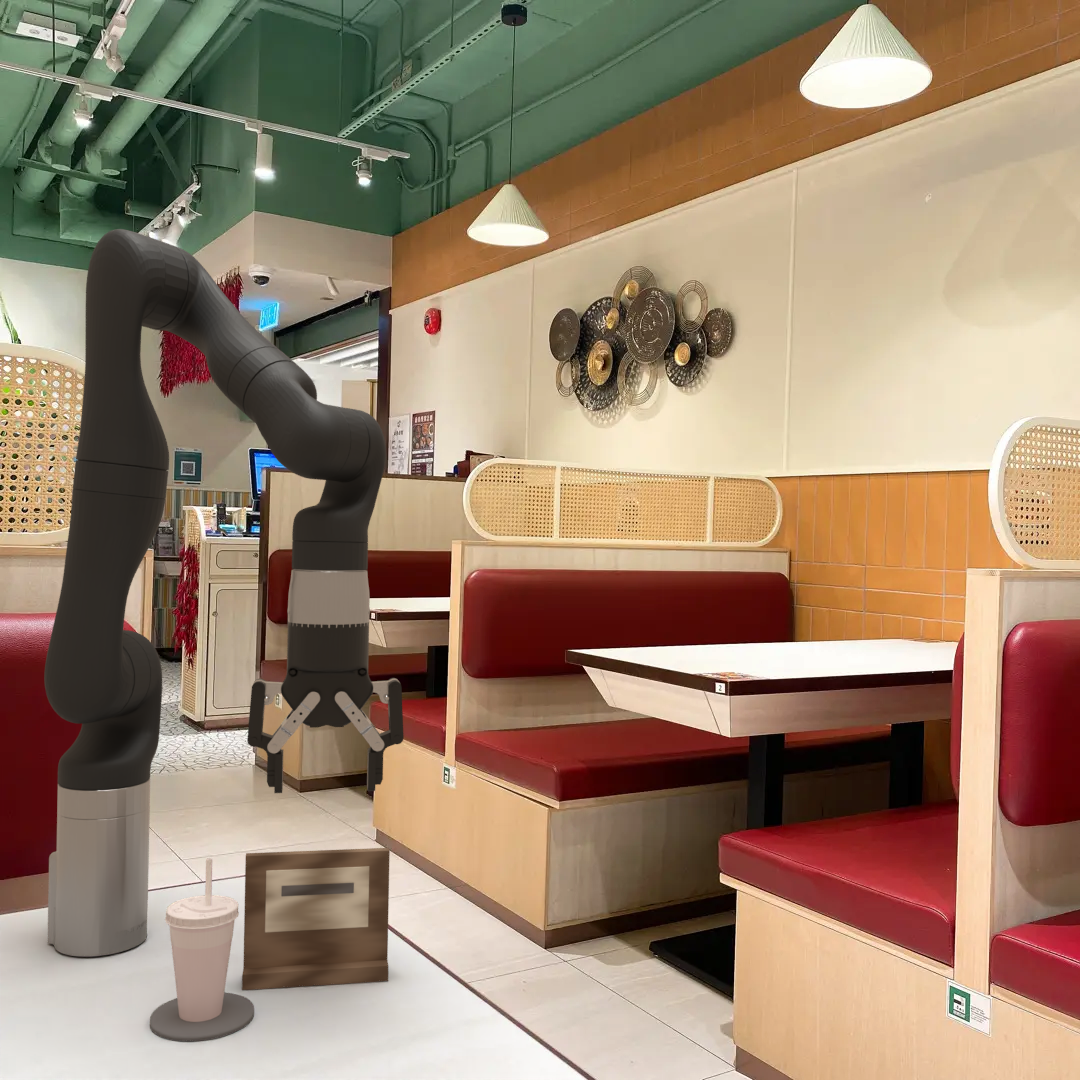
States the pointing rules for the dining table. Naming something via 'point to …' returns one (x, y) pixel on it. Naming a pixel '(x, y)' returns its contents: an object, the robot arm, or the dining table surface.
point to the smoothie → (201, 950)
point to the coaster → (229, 1021)
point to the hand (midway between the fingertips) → (325, 790)
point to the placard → (316, 918)
